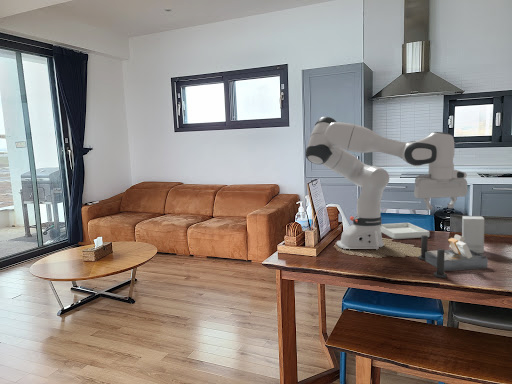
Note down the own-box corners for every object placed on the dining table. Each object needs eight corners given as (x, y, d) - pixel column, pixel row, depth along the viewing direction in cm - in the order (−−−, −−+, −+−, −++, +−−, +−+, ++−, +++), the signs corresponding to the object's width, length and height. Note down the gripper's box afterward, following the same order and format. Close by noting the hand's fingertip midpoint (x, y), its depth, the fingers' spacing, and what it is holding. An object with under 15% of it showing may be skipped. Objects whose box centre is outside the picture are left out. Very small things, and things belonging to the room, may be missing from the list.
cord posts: (435, 277, 134) (436, 251, 133) (417, 257, 159) (417, 234, 158) (448, 278, 134) (449, 251, 132) (427, 257, 158) (428, 234, 157)
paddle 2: (468, 258, 141) (462, 245, 140) (461, 255, 145) (455, 243, 144) (472, 256, 141) (466, 243, 140) (465, 253, 145) (459, 240, 144)
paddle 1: (454, 249, 151) (461, 236, 150) (448, 246, 155) (455, 234, 154) (458, 251, 151) (465, 238, 150) (452, 248, 155) (459, 235, 154)
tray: (394, 239, 189) (394, 233, 189) (376, 229, 211) (376, 224, 211) (429, 237, 191) (429, 231, 190) (408, 227, 213) (408, 222, 212)
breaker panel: (443, 271, 141) (443, 259, 140) (424, 260, 154) (425, 250, 153) (487, 268, 143) (487, 256, 142) (465, 258, 155) (465, 247, 155)
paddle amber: (460, 255, 146) (453, 242, 145) (454, 252, 150) (447, 239, 149) (464, 252, 146) (457, 240, 145) (457, 249, 150) (451, 237, 149)
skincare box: (482, 250, 166) (483, 216, 164) (484, 254, 160) (485, 219, 158) (460, 248, 169) (462, 215, 167) (462, 252, 163) (463, 218, 161)
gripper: (419, 175, 139) (418, 211, 141) (470, 173, 141) (469, 208, 142) (411, 174, 145) (410, 208, 147) (460, 172, 147) (459, 206, 149)
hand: (439, 208), depth 145 cm, fingers open, 7 cm apart
